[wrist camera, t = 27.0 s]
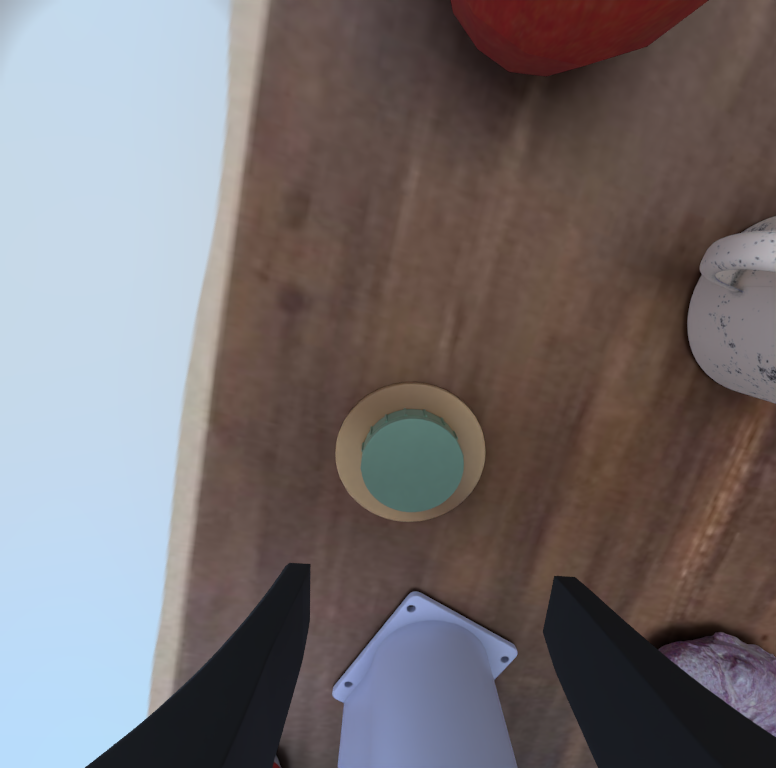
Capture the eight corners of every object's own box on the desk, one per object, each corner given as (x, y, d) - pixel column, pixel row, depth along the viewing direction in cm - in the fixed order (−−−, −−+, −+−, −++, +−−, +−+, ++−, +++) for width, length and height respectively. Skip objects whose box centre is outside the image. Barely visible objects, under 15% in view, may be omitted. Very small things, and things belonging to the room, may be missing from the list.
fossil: (733, 771, 27) (810, 883, 22) (598, 669, 25) (650, 768, 20) (835, 707, 25) (944, 812, 20) (701, 591, 23) (787, 677, 18)
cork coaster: (428, 541, 22) (428, 545, 22) (308, 472, 21) (307, 475, 21) (513, 433, 21) (516, 436, 20) (389, 352, 19) (389, 353, 19)
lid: (464, 410, 20) (470, 420, 18) (453, 499, 21) (458, 515, 20) (364, 405, 20) (362, 414, 18) (359, 495, 21) (357, 510, 20)
